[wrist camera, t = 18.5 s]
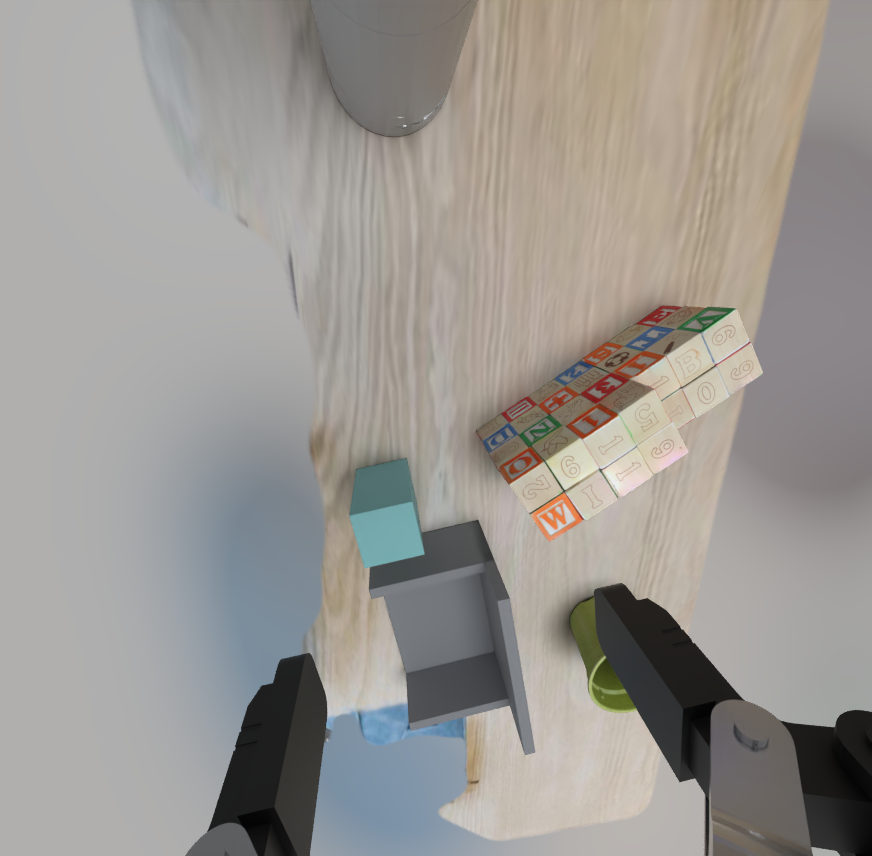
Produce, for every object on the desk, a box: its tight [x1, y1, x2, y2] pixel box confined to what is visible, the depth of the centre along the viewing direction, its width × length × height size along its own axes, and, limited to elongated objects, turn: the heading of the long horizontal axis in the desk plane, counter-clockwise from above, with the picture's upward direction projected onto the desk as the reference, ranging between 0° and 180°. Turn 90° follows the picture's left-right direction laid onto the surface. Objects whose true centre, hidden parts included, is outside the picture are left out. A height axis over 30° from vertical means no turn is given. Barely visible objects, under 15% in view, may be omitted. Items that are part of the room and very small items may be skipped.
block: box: [349, 458, 425, 568], centre depth 38 cm, size 5×5×9 cm
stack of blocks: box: [476, 306, 763, 542], centre depth 36 cm, size 21×6×12 cm, turn 125°
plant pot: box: [570, 597, 637, 713], centre depth 47 cm, size 9×9×9 cm
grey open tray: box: [369, 520, 535, 755], centre depth 42 cm, size 12×18×12 cm, turn 11°
